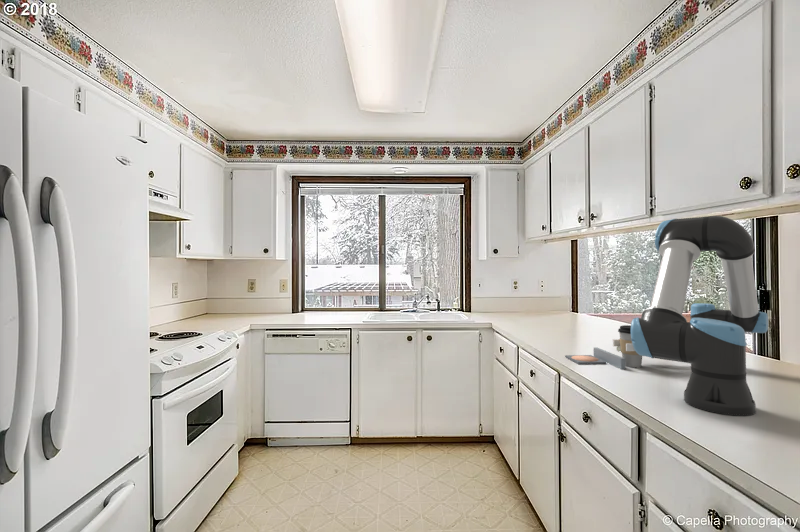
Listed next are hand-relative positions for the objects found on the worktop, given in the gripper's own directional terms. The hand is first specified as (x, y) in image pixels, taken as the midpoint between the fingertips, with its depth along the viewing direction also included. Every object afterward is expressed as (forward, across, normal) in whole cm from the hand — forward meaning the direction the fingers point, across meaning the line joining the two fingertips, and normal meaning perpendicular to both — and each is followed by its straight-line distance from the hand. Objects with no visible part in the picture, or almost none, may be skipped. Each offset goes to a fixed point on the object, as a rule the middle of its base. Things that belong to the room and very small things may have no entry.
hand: (619, 345), depth 148 cm
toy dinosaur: (-21, +32, -9) cm, 39 cm away
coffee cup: (-5, 0, -8) cm, 9 cm away
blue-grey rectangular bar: (+2, +5, -8) cm, 10 cm away
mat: (+9, +9, -8) cm, 15 cm away
